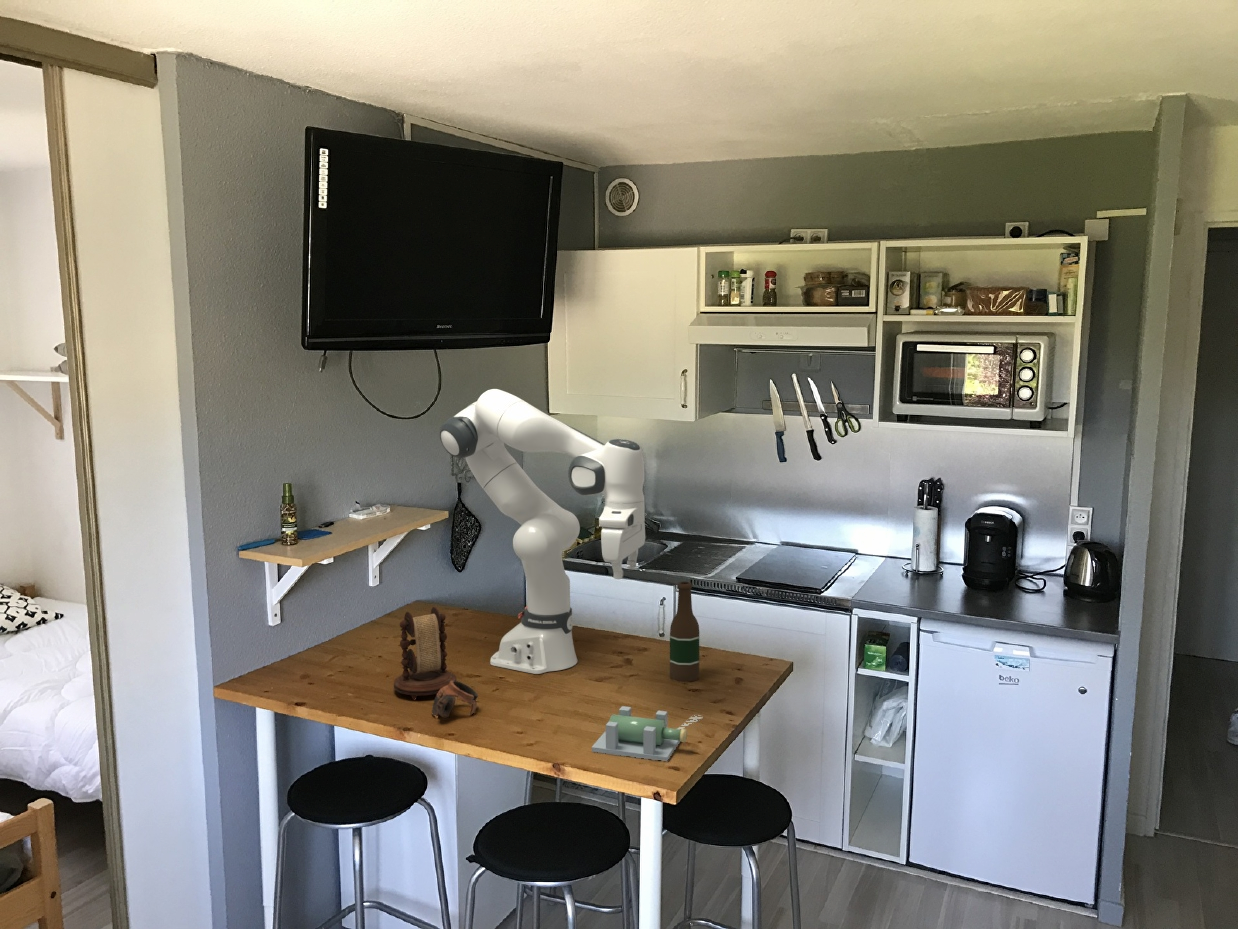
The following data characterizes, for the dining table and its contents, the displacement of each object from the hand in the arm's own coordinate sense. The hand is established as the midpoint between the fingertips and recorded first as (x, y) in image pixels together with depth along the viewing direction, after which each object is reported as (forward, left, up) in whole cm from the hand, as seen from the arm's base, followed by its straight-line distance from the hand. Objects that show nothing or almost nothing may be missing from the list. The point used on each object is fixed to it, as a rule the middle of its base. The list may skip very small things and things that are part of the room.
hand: (625, 573), depth 222 cm
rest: (+9, -20, -31) cm, 38 cm away
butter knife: (+14, -12, -32) cm, 37 cm away
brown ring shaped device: (-36, -17, -32) cm, 50 cm away
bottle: (+11, -20, -30) cm, 38 cm away
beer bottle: (+8, +22, -31) cm, 39 cm away
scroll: (-49, -5, -31) cm, 58 cm away
